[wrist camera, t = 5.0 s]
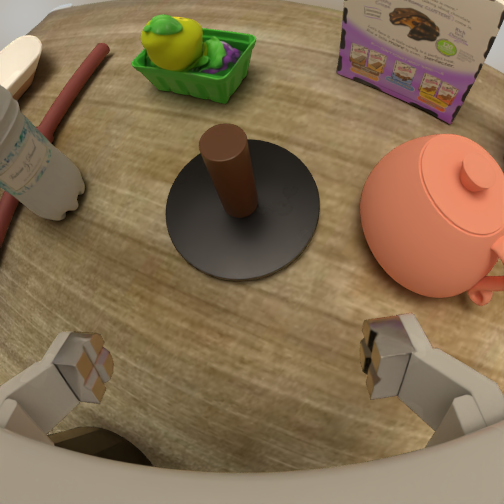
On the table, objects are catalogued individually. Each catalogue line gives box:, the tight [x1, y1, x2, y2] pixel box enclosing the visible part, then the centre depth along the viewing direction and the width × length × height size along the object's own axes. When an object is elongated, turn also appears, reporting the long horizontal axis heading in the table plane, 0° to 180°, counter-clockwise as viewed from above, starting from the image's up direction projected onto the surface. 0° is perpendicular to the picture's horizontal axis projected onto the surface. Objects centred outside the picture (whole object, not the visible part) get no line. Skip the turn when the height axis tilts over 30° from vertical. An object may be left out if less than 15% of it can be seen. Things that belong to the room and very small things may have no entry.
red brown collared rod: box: [0, 43, 110, 248], centre depth 29 cm, size 45×3×3 cm, turn 165°
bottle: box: [0, 85, 85, 221], centre depth 19 cm, size 7×7×20 cm
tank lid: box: [166, 124, 320, 281], centre depth 22 cm, size 12×12×9 cm
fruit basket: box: [131, 15, 256, 104], centre depth 26 cm, size 11×9×11 cm
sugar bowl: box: [360, 134, 504, 306], centre depth 19 cm, size 12×14×10 cm
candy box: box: [336, 0, 504, 124], centre depth 22 cm, size 14×6×16 cm, turn 60°
